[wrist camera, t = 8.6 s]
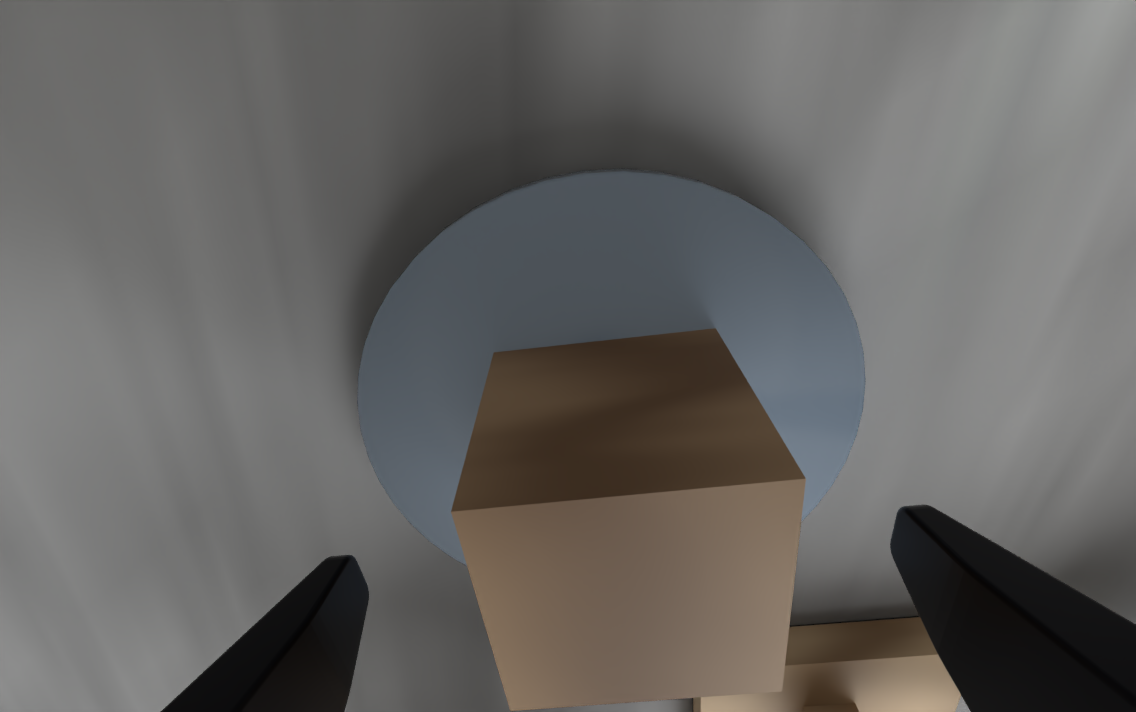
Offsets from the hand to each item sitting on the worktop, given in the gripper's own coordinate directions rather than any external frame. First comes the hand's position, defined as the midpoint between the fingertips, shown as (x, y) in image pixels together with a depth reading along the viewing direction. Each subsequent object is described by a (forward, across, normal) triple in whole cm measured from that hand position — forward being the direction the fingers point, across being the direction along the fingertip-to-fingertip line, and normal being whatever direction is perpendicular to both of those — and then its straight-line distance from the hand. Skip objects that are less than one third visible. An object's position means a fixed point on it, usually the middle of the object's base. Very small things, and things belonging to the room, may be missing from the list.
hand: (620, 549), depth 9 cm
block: (+3, 0, 0) cm, 3 cm away
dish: (+4, 0, 0) cm, 4 cm away
